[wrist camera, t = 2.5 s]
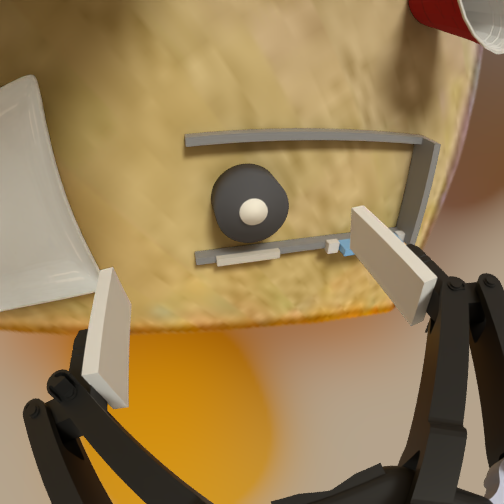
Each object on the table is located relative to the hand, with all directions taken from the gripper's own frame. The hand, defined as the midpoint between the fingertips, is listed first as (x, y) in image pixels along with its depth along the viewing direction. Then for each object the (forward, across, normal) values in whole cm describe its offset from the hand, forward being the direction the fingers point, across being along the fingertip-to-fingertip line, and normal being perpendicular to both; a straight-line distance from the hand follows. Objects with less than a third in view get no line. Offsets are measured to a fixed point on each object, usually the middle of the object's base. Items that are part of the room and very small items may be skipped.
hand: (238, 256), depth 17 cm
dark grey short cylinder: (+20, +4, -7) cm, 22 cm away
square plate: (+21, -28, +1) cm, 35 cm away
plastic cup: (+20, +30, +17) cm, 40 cm away
